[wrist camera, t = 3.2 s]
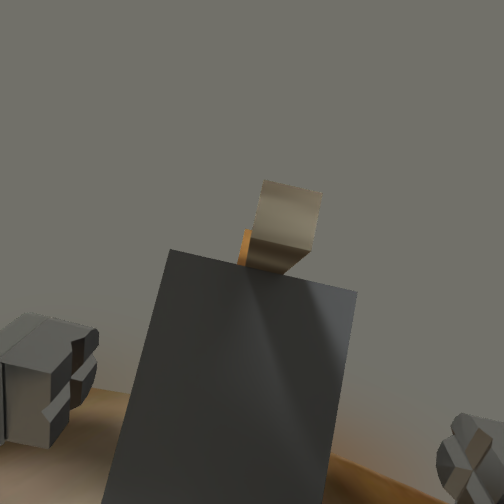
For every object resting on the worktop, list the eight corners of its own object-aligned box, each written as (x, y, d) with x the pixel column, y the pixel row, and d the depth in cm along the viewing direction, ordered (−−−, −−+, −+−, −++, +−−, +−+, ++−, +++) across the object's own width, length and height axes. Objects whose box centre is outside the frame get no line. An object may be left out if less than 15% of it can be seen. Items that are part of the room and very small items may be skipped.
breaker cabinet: (285, 716, 21) (357, 291, 26) (57, 666, 21) (169, 249, 26) (267, 567, 34) (318, 298, 38) (123, 535, 34) (191, 269, 38)
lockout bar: (328, 254, 16) (345, 165, 17) (233, 233, 16) (254, 144, 17) (275, 288, 38) (283, 248, 38) (235, 279, 38) (244, 239, 38)
